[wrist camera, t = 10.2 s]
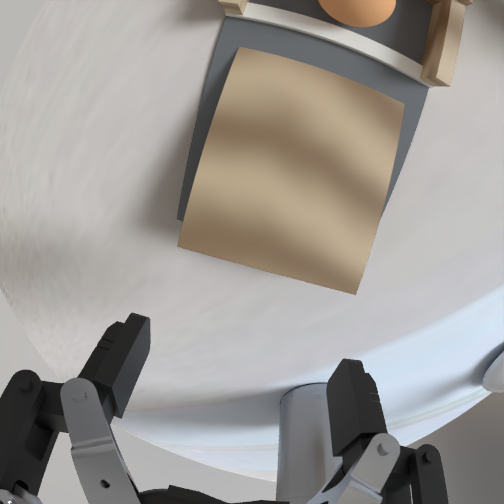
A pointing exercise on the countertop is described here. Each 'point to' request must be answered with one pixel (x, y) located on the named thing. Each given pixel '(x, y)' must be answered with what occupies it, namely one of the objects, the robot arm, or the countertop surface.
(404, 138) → the mat
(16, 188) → the countertop surface
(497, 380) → the flower in vase
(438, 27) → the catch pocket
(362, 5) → the ball
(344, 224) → the ramp
